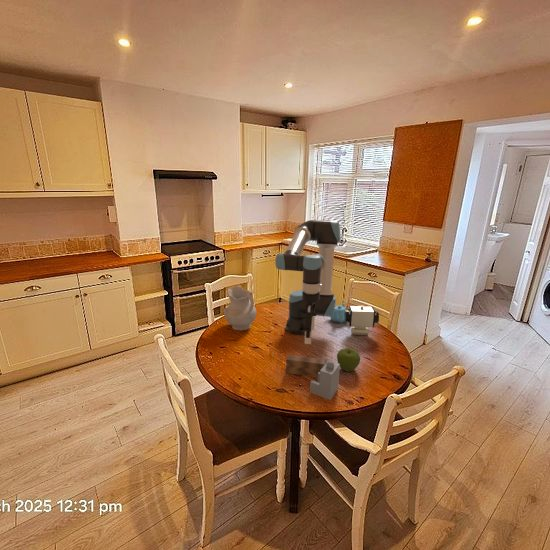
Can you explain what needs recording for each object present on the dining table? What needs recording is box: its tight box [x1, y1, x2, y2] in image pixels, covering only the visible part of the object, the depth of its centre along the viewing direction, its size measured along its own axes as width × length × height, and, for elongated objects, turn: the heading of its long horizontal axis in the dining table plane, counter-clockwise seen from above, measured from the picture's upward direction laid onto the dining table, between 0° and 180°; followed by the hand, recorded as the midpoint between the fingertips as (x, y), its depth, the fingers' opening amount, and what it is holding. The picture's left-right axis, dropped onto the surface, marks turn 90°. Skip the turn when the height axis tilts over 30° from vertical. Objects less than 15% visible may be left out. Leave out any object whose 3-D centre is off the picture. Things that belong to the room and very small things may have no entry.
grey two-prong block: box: [309, 359, 341, 401], centre depth 123 cm, size 9×8×14 cm
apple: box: [336, 347, 361, 372], centre depth 138 cm, size 11×10×10 cm
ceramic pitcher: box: [223, 285, 257, 331], centre depth 178 cm, size 22×20×25 cm
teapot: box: [329, 301, 347, 324], centre depth 188 cm, size 13×13×10 cm
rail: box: [285, 354, 328, 378], centre depth 136 cm, size 18×4×7 cm, turn 77°
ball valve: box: [344, 305, 380, 336], centre depth 170 cm, size 18×8×18 cm, turn 84°
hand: (309, 336), depth 134 cm, fingers open, 13 cm apart
